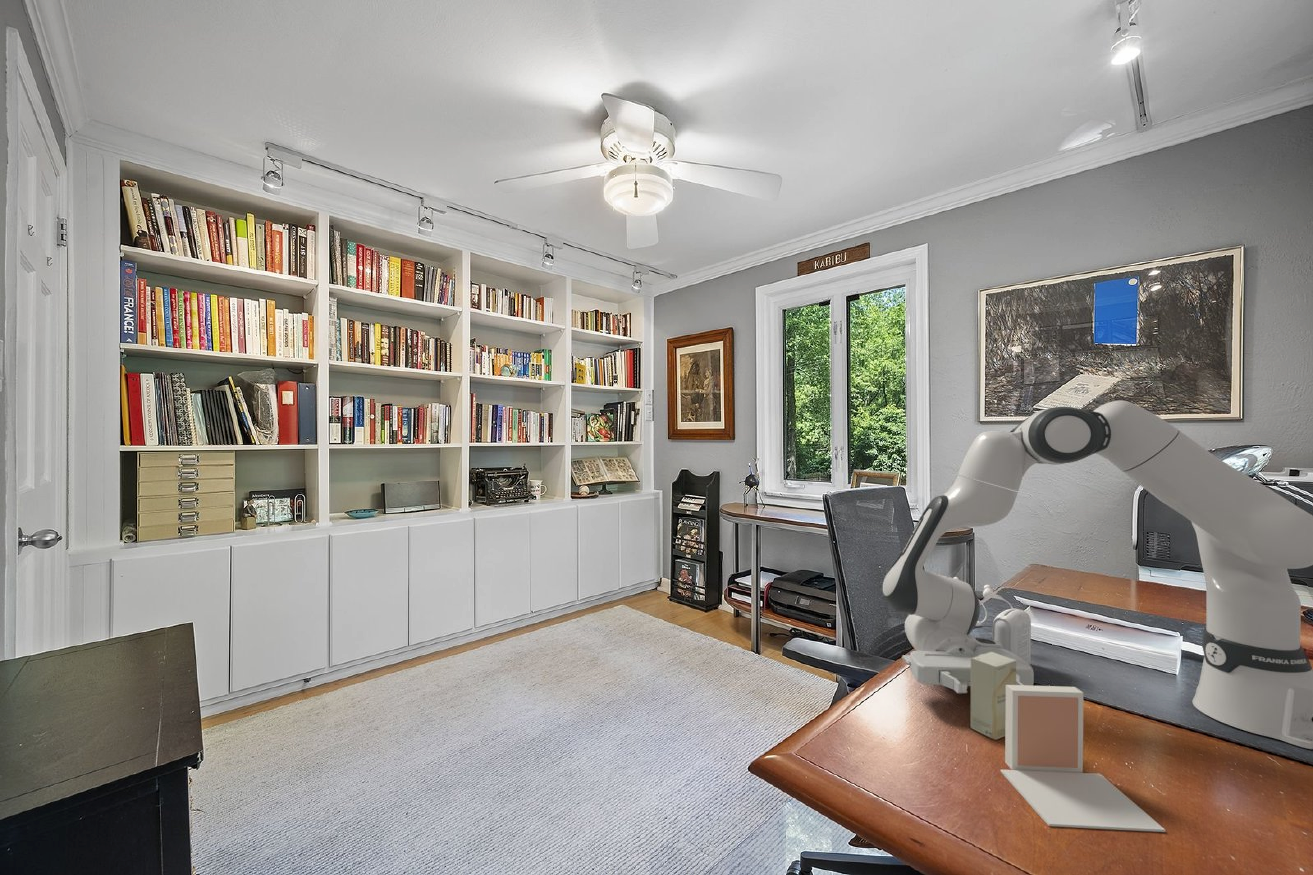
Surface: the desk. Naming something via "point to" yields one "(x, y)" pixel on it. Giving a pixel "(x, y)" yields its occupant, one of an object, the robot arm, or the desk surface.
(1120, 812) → the mat
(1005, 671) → the skincare box
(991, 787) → the desk surface
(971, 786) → the desk surface
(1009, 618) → the grey rounded block
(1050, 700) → the tile
